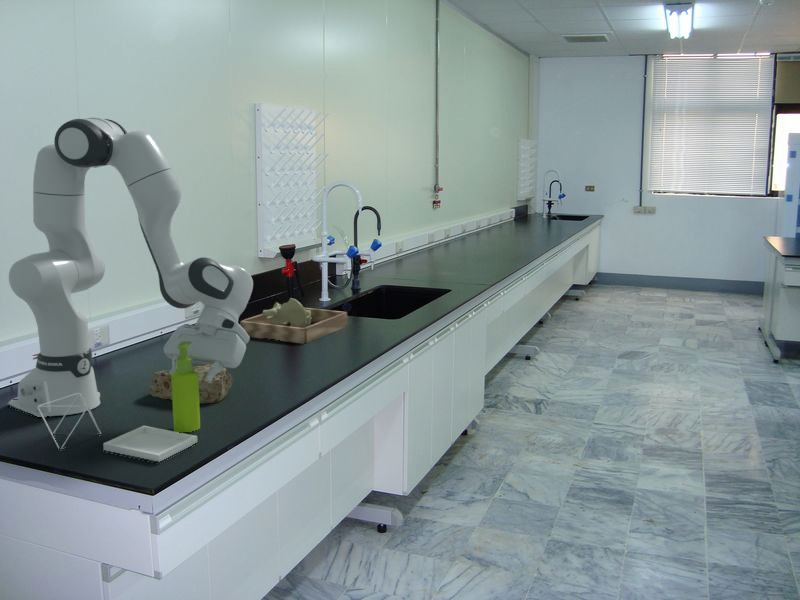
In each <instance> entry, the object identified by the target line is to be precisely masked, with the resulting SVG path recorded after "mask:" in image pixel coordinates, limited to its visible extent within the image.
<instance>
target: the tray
mask: <svg viewBox="0 0 800 600" xmlns="http://www.w3.org/2000/svg"><path fill="white" fill-rule="evenodd" d="M197 442H198V436H197V435H192V434H189V433H179V432H176V431H174V430H167V429H165V428H164V429H163V428H159V427H158V428H157V427H153V426H148V425H141V426H140V427H137V428H135V429H133V430H131V431H128V432H126V433H123V434H121V435H119V436H117V437H115V438H112V439H110V440H108V441H105V442H103V451H104V450H106V451H111V452H116V453H120V454H125V455H130V456H135V457H140V458H144V459H149V460H153V461H158V462H160V461H162V460H164V459H166V458H168V457H170V456H172V455H174V454H176V453H178V452H180V451H182V450H184V449H186V448H188V447H190V446H192V445H193V444H195V443H197ZM192 447H193V446H192Z"/></svg>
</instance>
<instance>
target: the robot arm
mask: <svg viewBox="0 0 800 600" xmlns="http://www.w3.org/2000/svg"><path fill="white" fill-rule="evenodd" d="M53 143H54V144H53ZM53 143H52V144H48V145H45V146H43V147H41V149H40V150H39V151H38V153H37V155H36V160H35V165H34V171H33V184H32V185H33V187H32V190H33V191H32V204H33V205H32V207H33V208H32V209H33V210H32V213H33V215H32V217H33V219H32V220H33V223H34V226H35V227H36V229H38V231H40V233H41V232H42V233H43V234H44V235H45V237H46V240H47V243H48V248H49V249H48V251H46V252H45V251H44V252H37V253H33V254H30V255H27V256H25V257H24V258H21V259H19V260H17V261H15V262H14V263H13V264H12V266H11V267H10V269H9V273H8V283H9V286H10V288H11V291H13V293H14V294H15V295H16V296H17V297H18V298H20V300H22V301H24V302H25V303H26V304H27V305H28V307H29V308H30V310H31V312H32V314H33V316H34V318H35V321H36V326H37V334H38V343H39V353H35V354H33V355H32V357H33V358H32V360H36V365H35V367H34V368H33V369H32V370H30V372H29V373H27V374H26V375H25V376H24V377H22V378H21V380H20V381H19V382H18V384H17V397H14V398H12V399H11V400H9V401H8V402H7V405H8V404H10V405H12V406H14V407H16V408H18V409H21V410H23V411H25V412H28V413H31V414H33V415H35V416H37V417H42V416H41V414H40V412H39V410H38V408H37V406H38V405H42V404H45V403H48V402H51V401H54V400H57V399H60V398H63V397H66V396H69V395H73V394H76V393H80V394H81V395H82V397H83V398H84V400H85V401H86V403H87V404H88V406H89V408H90V410H91V411H92V410H93V409H96V408H97V407H99V405H101V399H100V398H101V393H100V392H99V391H98V386H97V381H96V376H95V371H94V367H93V366H92V364H93V353H92V348H90V339H89V338H90V337H89V326H88V318H86V315H84V314H83V313H81V312H80V311H77V310H76V308H75V306H74V303H73V301H72V294H75V293H79V292H83V291H86V290H89V289H90V288H92V287H94V286H95V285H97V284H99V283H101V281H102V279H103V278H104V276H105V272H106V271H105V269H106V268H105V267H106V266H105V262H104V259H103V257H102V256H101V254H99V252H98V251H96V250H95V248H94V247H93V246H92V244H91V242H90V239H89V236H88V232H87V228H86V217H85V216H86V214H85V191H86V190H85V182H86V181H85V180H86V175H87V173H88V171H89V170H90V169H92V168H94V169H95V168H100V167H101V168H102V167H104V166H111V167H113V168H114V169H116V170H117V172H118V173H119V174H120V176H121V178H122V180H123V182H124V184H125V186H126V188H127V190H128V192H129V194H130V196H131V198H132V201H133V203H134V206H135V209H136V212H137V216H138V217H137V218H138V223H139V226H140V228H141V232H142V234H143V235H142V236H143V238H144V240H145V243H146V247H147V249H148V250H149V251H148V252H149V253H150V255H151V257H152V261H153V263H154V265H155V268H156V272H157V275H158V283H159V289H160V293H161V296H162V298H163V299H164V301H165V302H166V303H168V304H169V305H170V306H171V307H173V308H176V309H188V308H190V307H192V306H194V305H196V304H197V303H201V304H203V308H202V311H201V312H200V315H199V317H198V318H197V321H196V323H195V324H189V323H184V324H183V325H180V326H178V327H177V328H176V329H175V330H174V332H173V333H172V334H171V336H170V337H169V338H168V340H167V342H166V343H165V344H164V345H163V352H164V355H166V357H167V358H169V359H170V360H171V369H170V370H171V371H170V374H172V373H174V372H176V371H177V366H176V359H177V358H178V357H180V349H178V345H179V344H180V343H181V342H191V344H190V345H189V346H188V347H187V352H188V356H189V357H191V358H192V363H193V364H203V365H213V367H212V368H211V369H210V370H209V371H208V372H206V371H205V373H204V375H203V379H204V380H205V381H208V382H211V381H212V379H213V377H214V376H215V375H217V374H218V373H219V372H220V371H221V370H222V368H228V369H229V368H230V369H235V368H237V367H238V366H240V365H241V363H242V360H243V358H244V355H245V353H246V350H247V344H248V343H249V341H250V339H251V337H249V335H248V334H247V333H246V331H245V330H244V329H243V328H242V327H241V326H240V324H239V318H240V316H241V315H242V314H243V312H244V311H245V309H246V308H247V305H248V303H249V300H250V299H251V295H252V292H253V289H254V280H253V278H252V275H251V274H250V273H249V272H248V271H247V270H246V269H245V268H243V267H241V266H239V265H235V264H234V265H233V264H232V265H227V264H221V263H219V262H217V261H216V260H214V259H212V258H210V257H204V256H203V257H199V258H196V259H193V260H191V261H189V262H186V263H184V262H183V260H182V258H181V256H180V253H179V251H178V248H177V245H176V242H175V240H174V238H173V234H172V231H171V230H172V229H171V228H172V227H171V224H172V220H173V217H174V214H175V212H176V211H177V208H178V207H179V205H180V203H181V200H182V199H181V198H182V191H181V185H180V183H179V180H178V178H177V176H176V174H175V172H174V169H173V168H172V166H171V164H170V161H169V160H168V158H167V156H166V155H165V153H164V152H163V150H162V149H161V147H160V146H159V145H158V143H157V142H156V140H155V139H154V137H152V135H151V134H150V133H148V132H146V131H141V130H134V131H129V132H128V131H127V130H126V129H125V128H124V126H122V125H121V124H120V123H118V122H117V121H114V120H113V119H112V120H111V119H109V118H107V119H106V118H99V117H87V118H75V119H71V120H69V121H66V122H65V123H63V124H61V126H60V127H58V129H57V130H56V133H55V136H54V142H53ZM76 396H77V394H76V395H73V396H70V397H67V398H64V399H60V400H57V401H54V402H51V403H48V404H45V405H42V406H70V405H71V404H72V402H73V401H74V399H75V398H76ZM13 399H18V400H13ZM72 406H85V405H84V403H83V401H82V399H81V397H80V395H78V396H77V398H76V400H75V401H74V403H73V404H72ZM86 406H87V405H86ZM39 409H40V411H41V413H42V415H43V416H44V418H47V416H49V417H55V416H58V417H59V416H64V415H65V413H66V412H67V410H68V409H69V407H39ZM85 409H86V407H70V409H69V411H68V412H67V414H66V415H65V416H69V415H74V414H75V415H76V414H81V413H83V412H84V411H85ZM85 412H88V410H86V411H85ZM37 417H36V418H37Z"/></svg>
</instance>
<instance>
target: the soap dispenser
mask: <svg viewBox="0 0 800 600" xmlns="http://www.w3.org/2000/svg"><path fill="white" fill-rule="evenodd" d="M190 344H191V342H181V343H180V344H179V345H178V349H180V357H178V358H177V359H176V366H177V371H176V372H174V373H172V374H171V382H172V401H171V402H172V417H173V418H172V419H173V420H172V421H173V431H174V432H182V433H183V432H190V433H193V432H192V431H194V432H196V431H195V430H197V431H199V430H200V429H201V411H200V410H201V409H200V407H201V406H200V403H199V384H198V372H197V371H193V370H192V368H193V362H192V358H191V357H189V356H188V352H187V347H188V346H189V345H190ZM198 429H199V430H198Z"/></svg>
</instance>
